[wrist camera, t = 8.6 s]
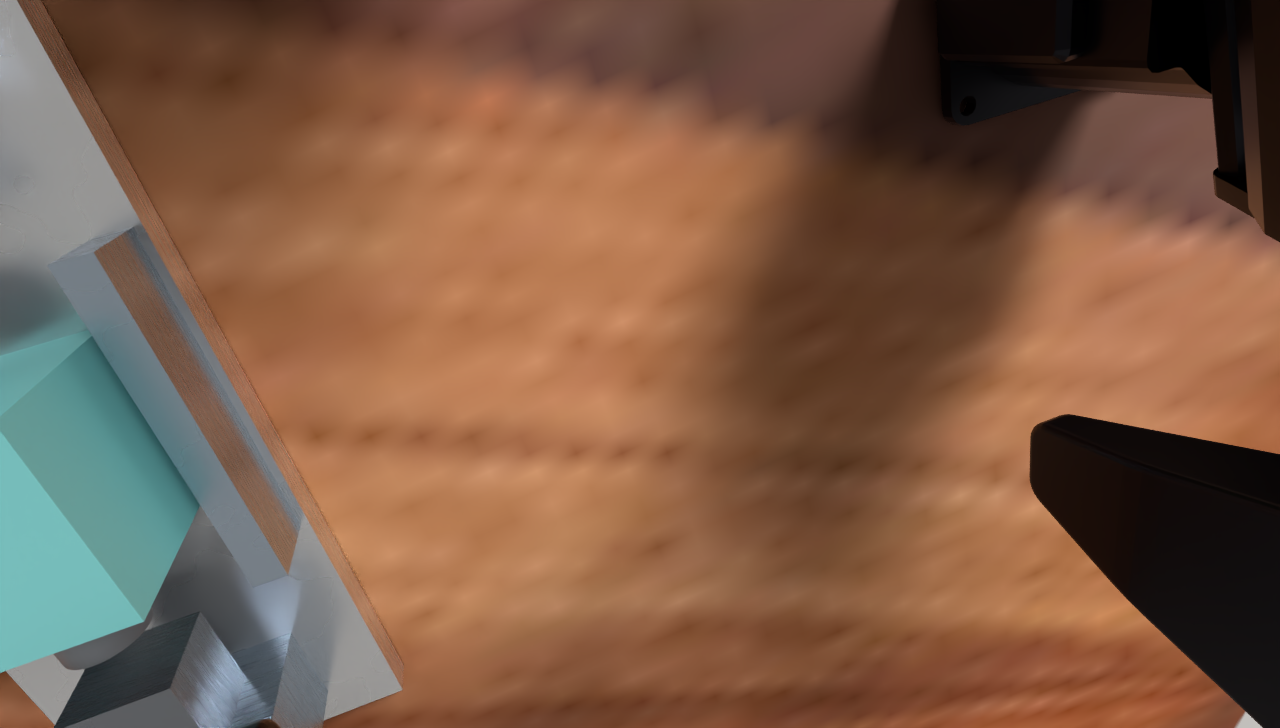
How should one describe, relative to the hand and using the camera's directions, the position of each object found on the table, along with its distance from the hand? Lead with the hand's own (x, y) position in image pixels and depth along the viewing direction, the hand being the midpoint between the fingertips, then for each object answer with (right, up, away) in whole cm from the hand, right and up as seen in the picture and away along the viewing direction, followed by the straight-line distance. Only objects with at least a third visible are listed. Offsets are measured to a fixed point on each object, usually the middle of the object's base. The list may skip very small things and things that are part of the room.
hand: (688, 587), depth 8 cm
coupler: (-14, +1, +8) cm, 16 cm away
